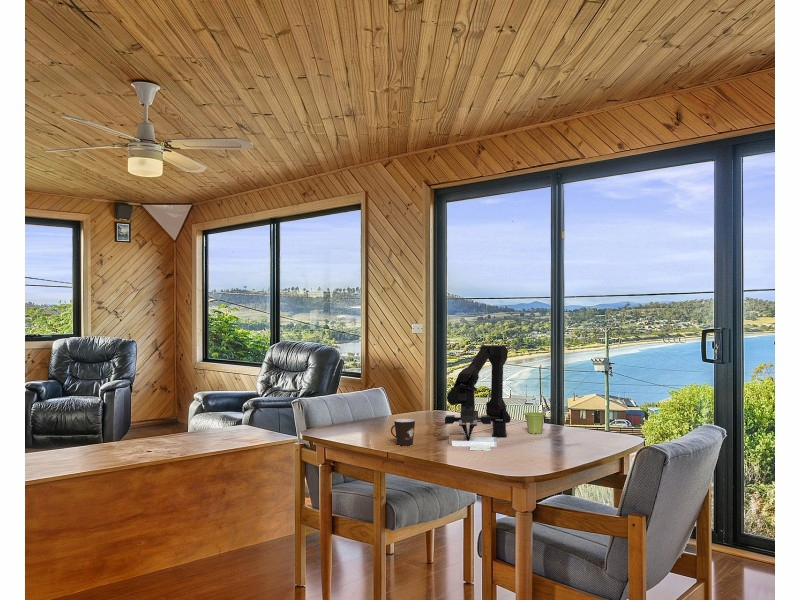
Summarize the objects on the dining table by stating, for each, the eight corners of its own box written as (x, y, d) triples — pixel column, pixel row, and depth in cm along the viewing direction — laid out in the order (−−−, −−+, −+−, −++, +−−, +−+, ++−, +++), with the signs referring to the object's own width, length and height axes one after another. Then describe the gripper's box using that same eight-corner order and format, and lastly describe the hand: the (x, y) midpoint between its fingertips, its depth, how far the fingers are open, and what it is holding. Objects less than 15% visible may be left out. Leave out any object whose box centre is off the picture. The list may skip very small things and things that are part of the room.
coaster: (470, 446, 248) (470, 444, 248) (490, 446, 247) (490, 444, 247) (469, 450, 240) (469, 448, 240) (490, 450, 239) (490, 448, 239)
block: (449, 442, 257) (449, 432, 257) (464, 442, 256) (464, 433, 256) (449, 444, 252) (449, 435, 252) (464, 445, 251) (463, 435, 251)
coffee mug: (410, 442, 258) (410, 418, 259) (418, 446, 250) (418, 421, 251) (384, 444, 254) (384, 420, 254) (391, 448, 246) (391, 423, 246)
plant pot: (520, 433, 277) (519, 413, 278) (532, 430, 284) (532, 411, 284) (537, 435, 270) (537, 415, 271) (550, 433, 277) (549, 413, 277)
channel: (453, 441, 259) (453, 436, 259) (496, 441, 257) (496, 437, 257) (451, 446, 249) (451, 441, 249) (496, 446, 247) (496, 441, 247)
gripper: (443, 404, 247) (444, 444, 247) (490, 405, 245) (491, 444, 244) (445, 401, 258) (445, 439, 258) (490, 401, 256) (491, 439, 255)
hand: (468, 440), depth 253 cm, fingers closed
